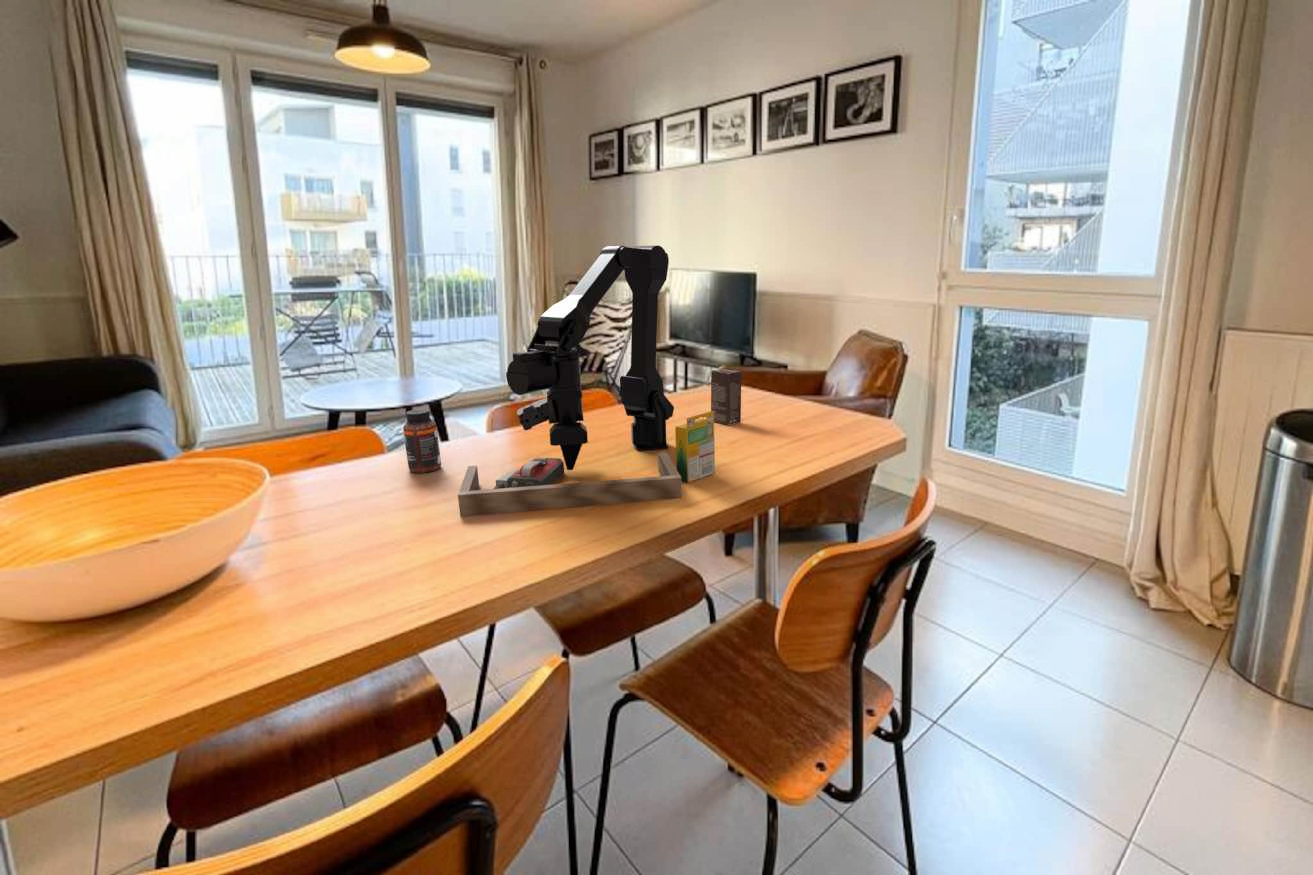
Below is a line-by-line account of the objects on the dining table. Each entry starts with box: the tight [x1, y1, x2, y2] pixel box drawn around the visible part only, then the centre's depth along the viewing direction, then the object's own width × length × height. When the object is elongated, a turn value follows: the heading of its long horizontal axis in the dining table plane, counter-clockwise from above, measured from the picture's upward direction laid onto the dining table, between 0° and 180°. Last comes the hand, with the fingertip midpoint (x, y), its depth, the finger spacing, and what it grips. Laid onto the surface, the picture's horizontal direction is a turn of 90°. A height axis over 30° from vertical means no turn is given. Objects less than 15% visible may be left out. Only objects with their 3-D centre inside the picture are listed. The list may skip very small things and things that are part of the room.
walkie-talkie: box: [492, 457, 565, 489], centre depth 115 cm, size 9×4×20 cm
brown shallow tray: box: [457, 451, 683, 517], centre depth 113 cm, size 35×14×4 cm, turn 99°
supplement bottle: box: [402, 408, 442, 474], centre depth 126 cm, size 6×6×11 cm
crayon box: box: [674, 410, 716, 484], centre depth 117 cm, size 7×3×12 cm, turn 134°
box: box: [710, 368, 742, 426], centre depth 154 cm, size 6×4×12 cm
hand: (570, 469), depth 121 cm, fingers closed
